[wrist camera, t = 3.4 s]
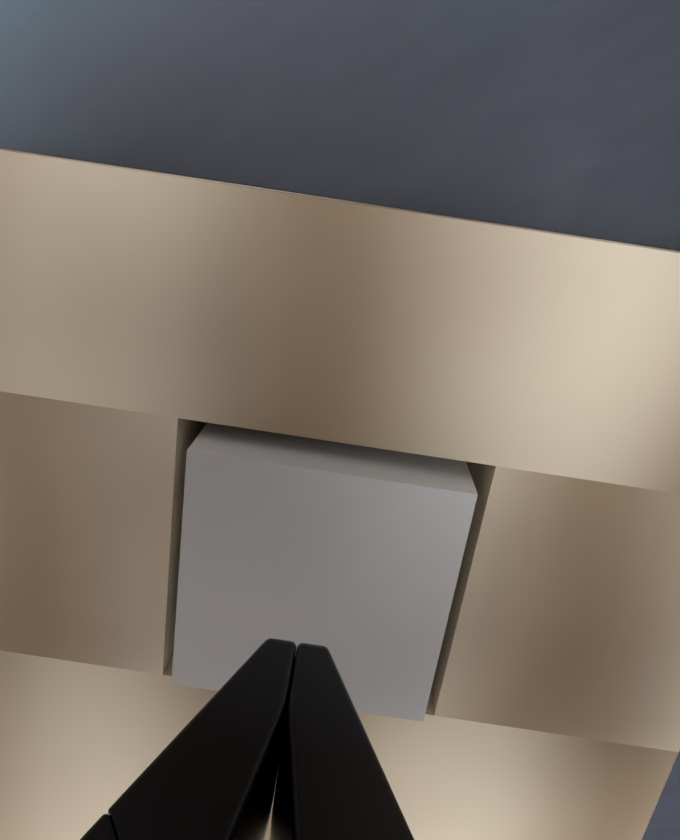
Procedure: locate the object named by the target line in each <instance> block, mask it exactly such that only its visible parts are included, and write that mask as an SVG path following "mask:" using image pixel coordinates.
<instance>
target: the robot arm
mask: <svg viewBox="0 0 680 840" xmlns="http://www.w3.org/2000/svg"><path fill="white" fill-rule="evenodd" d="M295 655H296V656H295ZM277 772H278V773H277ZM276 779H277V780H276ZM275 785H276V786H275ZM274 791H275V793H274ZM273 798H274V800H273ZM272 803H273V808H272ZM271 809H272V816H271V828H270V840H414V838H413V835H412V833H411V831H410V829H409V827H408V824H407V822H406V820H405V818H404V815H403V813H402V811H401V809H400V807H399V804H398V802H397V800H396V798H395V796H394V793H393V791H392V789H391V787H390V784H389V782H388V780H387V778H386V776H385V773H384V771H383V769H382V767H381V764H380V762H379V760H378V758H377V756H376V753H375V751H374V749H373V747H372V745H371V742H370V740H369V738H368V736H367V733H366V731H365V729H364V727H363V725H362V722H361V720H360V718H359V716H358V714H357V711H356V709H355V707H354V705H353V702H352V700H351V698H350V696H349V694H348V691H347V689H346V687H345V685H344V682H343V680H342V678H341V676H340V674H339V671H338V669H337V667H336V665H335V663H334V660H333V658H332V656H331V654H330V652H329V650H328V648H327V647H325V646H321V645H315V644H308V643H300V644H299V645H298V646H297V650H296V643H294V642H293V641H288V640H281V639H274V638H269V639H267V640H265V641H264V642H263V643H262V644H261V646H260V647H259V648H258V649H257V650H256V651H255V652H254V653H253V654H252V655H251V656H250V657H249V658H248V660H247V661H246V662H245V663H244V664H243V665H242V666H241V667H240V668H239V669H238V670H237V671H236V672H235V674H234V675H233V676H232V677H231V678H230V679H229V680H228V681H227V682H226V683H225V684H224V685H223V686H222V687H221V689H220V690H219V691H218V692H217V693H216V694H215V695H214V696H213V697H212V698H211V699H210V700H209V701H208V703H207V704H206V705H205V706H204V707H203V708H202V709H201V710H200V711H199V712H198V713H197V714H196V715H195V717H194V718H193V719H192V720H191V721H190V722H189V723H188V724H187V725H186V726H185V727H184V728H183V729H182V731H181V732H180V733H179V734H178V735H177V736H176V737H175V738H174V739H173V740H172V741H171V742H170V743H169V744H168V746H167V747H166V748H165V749H164V750H163V751H162V752H161V753H160V754H159V755H158V756H157V757H156V758H155V760H154V761H153V762H152V763H151V764H150V765H149V766H148V767H147V768H146V769H145V770H144V771H143V772H142V774H141V775H140V776H139V777H138V778H137V779H136V780H135V781H134V782H133V783H132V784H131V785H130V786H129V787H128V789H127V790H126V791H125V792H124V793H123V794H122V795H121V796H120V797H119V798H118V799H117V800H116V801H115V803H114V804H113V805H112V806H111V807H110V808H109V810H108V814H103V815H102V816H101V817H100V818H99V819H98V820H97V821H96V823H95V824H94V825H93V826H92V827H91V828H90V829H89V830H88V831H87V832H86V833H85V834H84V836H83V837H82V838H81V839H80V840H264V839H265V835H266V831H267V827H268V823H269V819H270V814H271Z"/></svg>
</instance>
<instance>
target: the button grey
mask: <svg viewBox="0 0 680 840" xmlns="http://www.w3.org/2000/svg"><path fill="white" fill-rule="evenodd" d="M477 496H478V494H477V491H476V488H475V485H474V482H473V480H472V477H471V474H470V471H469V469H468V466H467V463H466V461H459V460H452V459H446V458H439V457H433V456H426V455H419V454H413V453H406V452H399V451H393V450H386V449H380V448H373V447H366V446H360V445H353V444H346V443H340V442H333V441H326V440H320V439H313V438H307V437H300V436H293V435H287V434H280V433H273V432H267V431H260V430H254V429H247V428H240V427H234V426H227V425H220V424H214V423H207V424H206V425H205V427H204V428H203V429H202V431H201V432H200V433H199V435H198V436H197V437H196V439H195V440H194V441H193V443H192V444H191V446H190V447H189V448H188V450H187V454H186V470H185V485H184V500H183V515H182V530H181V545H180V561H179V576H178V591H177V606H176V621H175V637H174V652H173V667H172V682H171V684H175V685H181V686H188V687H195V688H201V689H208V690H215V691H219V690H220V689H221V687H222V686H223V685H224V684H225V683H226V682H227V681H228V680H229V679H230V678H231V677H232V676H233V675H234V674H235V672H236V671H237V670H238V669H239V668H240V667H241V666H242V665H243V664H244V663H245V662H246V661H247V660H248V658H249V657H250V656H251V655H252V654H253V653H254V652H255V651H256V650H257V649H258V648H259V647H260V646H261V644H262V643H263V642H264V641H265V640H267V639H269V638H274V639H281V640H288V641H293V642H294V643H296V650H297V646H298V645H299V644H300V643H308V644H315V645H321V646H325V647H327V648H328V650H329V652H330V654H331V656H332V658H333V660H334V663H335V665H336V667H337V669H338V671H339V674H340V676H341V678H342V680H343V682H344V685H345V687H346V689H347V691H348V694H349V696H350V698H351V700H352V702H353V705H354V707H355V709H356V711H357V712H361V713H368V714H375V715H381V716H388V717H395V718H401V719H408V720H415V721H421V722H423V721H424V716H425V712H426V708H427V704H428V700H429V696H430V692H431V687H432V683H433V679H434V675H435V671H436V667H437V662H438V658H439V654H440V650H441V646H442V642H443V637H444V633H445V629H446V625H447V621H448V617H449V612H450V608H451V604H452V600H453V596H454V592H455V588H456V583H457V579H458V575H459V571H460V567H461V563H462V558H463V554H464V550H465V546H466V542H467V538H468V533H469V529H470V525H471V521H472V517H473V513H474V508H475V504H476V500H477ZM295 656H296V655H295Z"/></svg>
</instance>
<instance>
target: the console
mask: <svg viewBox="0 0 680 840" xmlns="http://www.w3.org/2000/svg"><path fill="white" fill-rule="evenodd" d="M207 423H214V424H220V425H227V426H234V427H240V428H247V429H254V430H260V431H267V432H273V433H280V434H287V435H293V436H300V437H307V438H313V439H320V440H326V441H333V442H340V443H346V444H353V445H360V446H366V447H373V448H380V449H386V450H393V451H399V452H406V453H413V454H419V455H426V456H433V457H439V458H446V459H452V460H459V461H466V463H467V466H468V469H469V471H470V474H471V477H472V480H473V482H474V485H475V488H476V491H477V494H478V496H477V500H476V504H475V508H474V513H473V517H472V521H471V525H470V529H469V533H468V538H467V542H466V546H465V550H464V554H463V558H462V563H461V567H460V571H459V575H458V579H457V583H456V588H455V592H454V596H453V600H452V604H451V608H450V612H449V617H448V621H447V625H446V629H445V633H444V637H443V642H442V646H441V650H440V654H439V658H438V662H437V667H436V671H435V675H434V679H433V683H432V687H431V692H430V696H429V700H428V704H427V708H426V712H425V716H424V721H423V722H421V721H415V720H408V719H401V718H395V717H388V716H381V715H375V714H368V713H361V712H357V714H358V716H359V718H360V720H361V722H362V725H363V727H364V729H365V731H366V733H367V736H368V738H369V740H370V742H371V745H372V747H373V749H374V751H375V753H376V756H377V758H378V760H379V762H380V764H381V767H382V769H383V771H384V773H385V776H386V778H387V780H388V782H389V784H390V787H391V789H392V791H393V793H394V796H395V798H396V800H397V802H398V804H399V807H400V809H401V811H402V813H403V815H404V818H405V820H406V822H407V824H408V827H409V829H410V831H411V833H412V835H413V838H414V840H642V837H643V835H644V833H645V830H646V828H647V826H648V823H649V821H650V819H651V816H652V814H653V812H654V809H655V807H656V804H657V802H658V800H659V797H660V795H661V793H662V790H663V788H664V786H665V783H666V781H667V779H668V776H669V774H670V771H671V769H672V767H673V764H674V762H675V760H676V757H677V755H678V753H679V750H680V251H675V250H669V249H662V248H656V247H649V246H642V245H636V244H629V243H623V242H616V241H609V240H603V239H596V238H590V237H583V236H577V235H570V234H563V233H557V232H550V231H544V230H537V229H530V228H524V227H517V226H511V225H504V224H497V223H491V222H484V221H478V220H471V219H465V218H458V217H451V216H445V215H438V214H432V213H425V212H418V211H412V210H405V209H399V208H392V207H386V206H379V205H372V204H366V203H359V202H353V201H346V200H339V199H333V198H326V197H320V196H313V195H306V194H300V193H293V192H287V191H280V190H274V189H267V188H260V187H254V186H247V185H241V184H234V183H227V182H221V181H214V180H208V179H201V178H194V177H188V176H181V175H175V174H168V173H162V172H155V171H148V170H142V169H135V168H129V167H122V166H115V165H109V164H102V163H96V162H89V161H83V160H76V159H69V158H63V157H56V156H50V155H43V154H36V153H30V152H23V151H16V150H9V149H2V148H0V840H80V839H81V838H82V837H83V836H84V834H85V833H86V832H87V831H88V830H89V829H90V828H91V827H92V826H93V825H94V824H95V823H96V821H97V820H98V819H99V818H100V817H101V816H102V815H103V814H108V810H109V808H110V807H111V806H112V805H113V804H114V803H115V801H116V800H117V799H118V798H119V797H120V796H121V795H122V794H123V793H124V792H125V791H126V790H127V789H128V787H129V786H130V785H131V784H132V783H133V782H134V781H135V780H136V779H137V778H138V777H139V776H140V775H141V774H142V772H143V771H144V770H145V769H146V768H147V767H148V766H149V765H150V764H151V763H152V762H153V761H154V760H155V758H156V757H157V756H158V755H159V754H160V753H161V752H162V751H163V750H164V749H165V748H166V747H167V746H168V744H169V743H170V742H171V741H172V740H173V739H174V738H175V737H176V736H177V735H178V734H179V733H180V732H181V731H182V729H183V728H184V727H185V726H186V725H187V724H188V723H189V722H190V721H191V720H192V719H193V718H194V717H195V715H196V714H197V713H198V712H199V711H200V710H201V709H202V708H203V707H204V706H205V705H206V704H207V703H208V701H209V700H210V699H211V698H212V697H213V696H214V695H215V694H216V693H217V692H218V691H215V690H208V689H201V688H195V687H188V686H181V685H175V684H171V682H172V667H173V652H174V637H175V621H176V606H177V591H178V576H179V561H180V545H181V530H182V515H183V500H184V485H185V470H186V454H187V450H188V448H189V447H190V446H191V444H192V443H193V441H194V440H195V439H196V437H197V436H198V435H199V433H200V432H201V431H202V429H203V428H204V427H205V425H206V424H207ZM277 773H278V772H277ZM276 780H277V779H276ZM275 786H276V785H275ZM274 793H275V791H274ZM273 800H274V798H273ZM272 808H273V803H272ZM271 816H272V809H271V814H270V819H269V823H268V827H267V831H266V835H265V839H264V840H270V828H271Z"/></svg>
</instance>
